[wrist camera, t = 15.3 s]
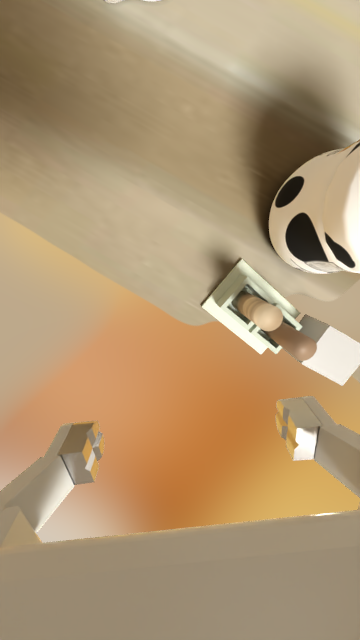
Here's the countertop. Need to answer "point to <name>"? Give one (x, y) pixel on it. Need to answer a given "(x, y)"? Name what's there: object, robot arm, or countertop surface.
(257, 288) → the pin board
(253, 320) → the beech peg
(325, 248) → the milk container
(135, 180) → the countertop surface
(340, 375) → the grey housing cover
